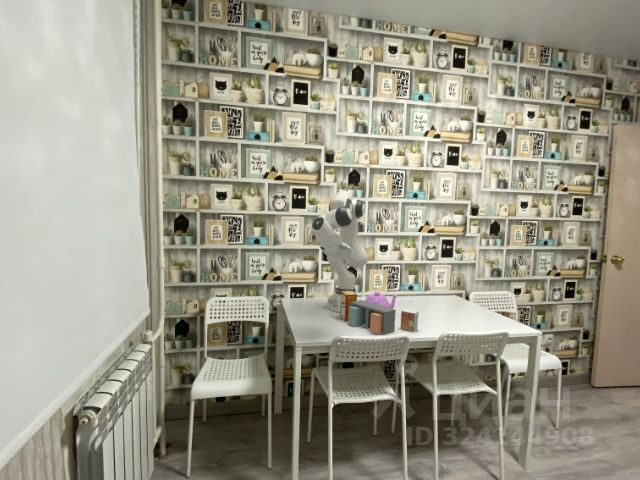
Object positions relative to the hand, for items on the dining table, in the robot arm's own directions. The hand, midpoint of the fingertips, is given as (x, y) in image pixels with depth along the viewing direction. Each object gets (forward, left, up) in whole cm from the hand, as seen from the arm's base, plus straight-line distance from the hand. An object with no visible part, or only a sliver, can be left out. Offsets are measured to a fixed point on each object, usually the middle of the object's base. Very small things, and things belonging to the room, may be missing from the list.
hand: (346, 262), depth 213 cm
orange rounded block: (+12, +15, -37) cm, 42 cm away
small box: (+19, +31, -38) cm, 53 cm away
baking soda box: (-15, +18, -38) cm, 44 cm away
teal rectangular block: (-4, +15, -37) cm, 40 cm away
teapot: (-10, +41, -38) cm, 57 cm away
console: (+4, +18, -37) cm, 41 cm away
